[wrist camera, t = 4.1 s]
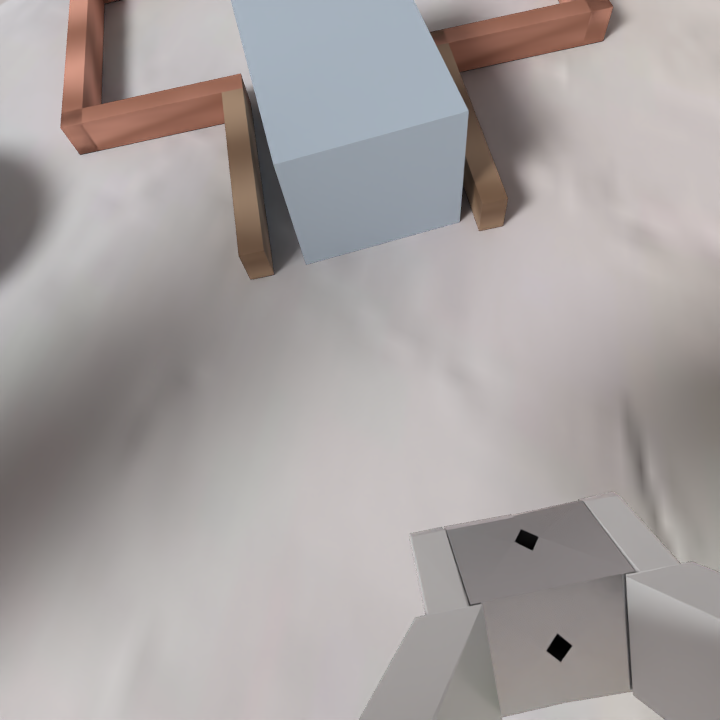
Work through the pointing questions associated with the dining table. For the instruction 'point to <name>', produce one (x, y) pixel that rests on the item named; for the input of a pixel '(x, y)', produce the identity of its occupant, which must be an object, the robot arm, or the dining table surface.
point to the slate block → (356, 119)
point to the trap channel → (232, 106)
